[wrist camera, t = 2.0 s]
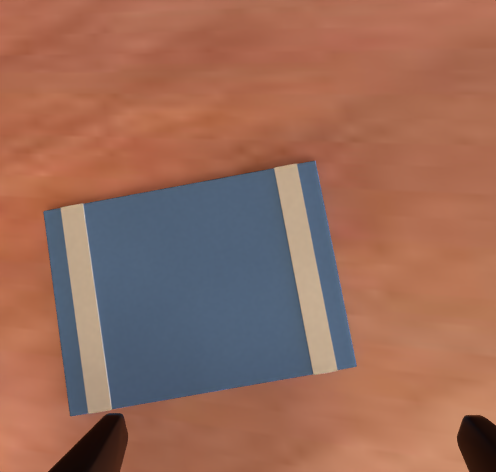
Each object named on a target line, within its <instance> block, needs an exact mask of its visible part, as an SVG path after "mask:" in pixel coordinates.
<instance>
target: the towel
mask: <svg viewBox="0 0 496 472" xmlns="http://www.w3.org/2000/svg"><path fill="white" fill-rule="evenodd" d="M44 219H45V227H46V235H47V242H48V250H49V258H50V265H51V273H52V281H53V288H54V296H55V304H56V311H57V319H58V327H59V334H60V342H61V350H62V357H63V365H64V373H65V380H66V388H67V396H68V403H69V411H70V416H76V415H81V414H87V413H88V414H92V413H98V412H104V411H109V410H112V409H116V408H122V407H127V406H133V405H139V404H145V403H150V402H156V401H162V400H168V399H173V398H179V397H185V396H191V395H196V394H202V393H208V392H214V391H219V390H225V389H231V388H237V387H243V386H248V385H254V384H260V383H266V382H271V381H277V380H283V379H289V378H294V377H300V376H306V375H312V374H313V375H317V374H323V373H328V372H334V371H337V370H340V369H346V368H352V367H357V365H356V360H355V355H354V350H353V345H352V340H351V335H350V330H349V325H348V320H347V315H346V310H345V305H344V301H343V296H342V291H341V286H340V281H339V276H338V271H337V266H336V261H335V256H334V251H333V246H332V241H331V236H330V231H329V226H328V221H327V216H326V211H325V206H324V201H323V196H322V191H321V187H320V182H319V177H318V172H317V167H316V162H315V161H311V162H305V163H300V164H291V165H286V166H281V167H275V168H273V169H268V170H262V171H257V172H251V173H246V174H241V175H235V176H230V177H225V178H219V179H214V180H208V181H203V182H198V183H192V184H187V185H182V186H176V187H171V188H165V189H160V190H155V191H149V192H144V193H139V194H133V195H128V196H122V197H117V198H112V199H106V200H101V201H96V202H90V203H85V204H83V203H82V204H76V205H71V206H66V207H61V208H58V209H53V210H47V211H44Z"/></svg>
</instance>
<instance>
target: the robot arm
mask: <svg viewBox="0 0 496 472" xmlns="http://www.w3.org/2000/svg"><path fill="white" fill-rule="evenodd" d="M127 442H128V432H127V428H126V424H125V420H124V416H123V415H122V414H120V413H109V414H107V415H105V416H104V417H103V418H102V419H101V420H100V421H99V422H98V423H97V424H96V425H95V426H94V427H93V428H92V429H91V430H90V431H89V432H88V433H87V434H86V435H85V436H84V437H83V438H82V439H81V440H80V441H79V442H78V443H77V444H76V445H75V446H74V447H73V448H72V449H71V450H70V451H69V452H68V453H67V454H65V455H64V456H63V457H62V458H61V459H60V460H59V461H58V462H57V463H56V464H55V465H54V466H53V467H52V468H51V469H50V470H49V471H48V472H120V469H121V465H122V462H123V458H124V454H125V450H126V446H127ZM457 442H458V446H459V449H460V451H461V453H462V456H463V458H464V460H465V463H466V465H467V467H468V470H469V472H496V425H495V424H493V423H492V422H491V421H489V420H488V419H486V418H485V417H483V416H480V415H466V416H464V418H463V420H462V423H461V426H460V429H459V432H458V435H457Z"/></svg>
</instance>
